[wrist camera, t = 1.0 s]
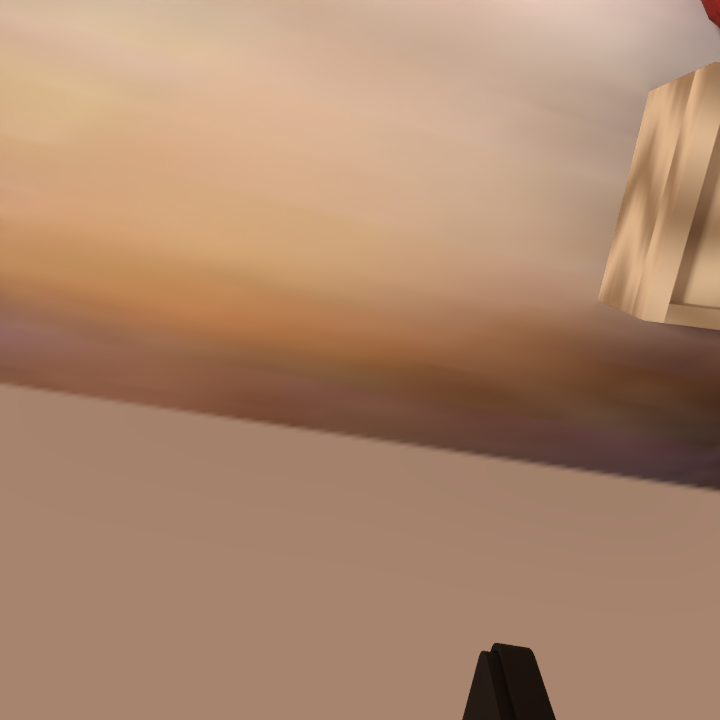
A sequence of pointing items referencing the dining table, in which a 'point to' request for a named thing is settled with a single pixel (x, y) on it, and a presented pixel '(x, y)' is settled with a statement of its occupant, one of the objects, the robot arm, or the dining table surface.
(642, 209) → the beige square hollow tray
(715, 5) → the onion
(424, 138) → the dining table surface
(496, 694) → the robot arm
